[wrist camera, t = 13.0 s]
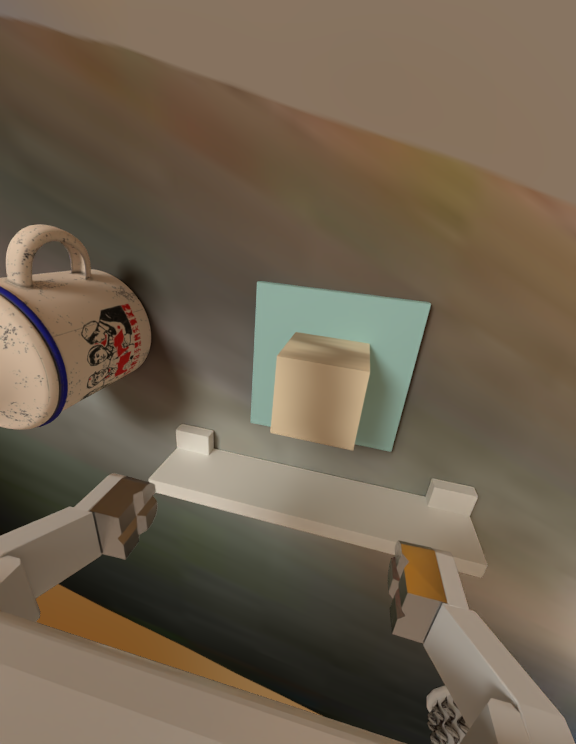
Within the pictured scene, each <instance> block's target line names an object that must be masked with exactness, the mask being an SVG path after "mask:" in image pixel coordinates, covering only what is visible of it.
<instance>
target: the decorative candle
mask: <svg viewBox="0 0 576 744" xmlns="http://www.w3.org/2000/svg"><path fill="white" fill-rule="evenodd" d="M427 709H428V711H429V712H430V713H429V714H428V719H429V721H428V726H429V728H430V729H431V730H432V731H433V732H432V733H431V735H430V738H431V743H430V744H459V743H460V742H461V741H462V739H463V738H464V736H465V735H466V733H467V732H468V730H469V727H468V725H467V724H466V722H465V720H464V718H463V716H462V715H461V713H460V711H459V709H458V707H457V706H456V704H455V702H454V700H453V698H452V697H451V695H450V693H449V691H448V689H447V687H446V686H445V685H444V686H441V687H438V688H435V689H433V690H432V691H431V692H430V693H429V694H428V695H427Z"/></svg>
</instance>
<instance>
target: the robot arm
mask: <svg viewBox="0 0 576 744" xmlns="http://www.w3.org/2000/svg"><path fill="white" fill-rule="evenodd" d="M155 492H156V489H155V484H153V483H150V482H147V481H143V480H139V479H135V478H132V477H128V476H123V475H119V474H116V473H113V474H110V475H108V476H107V477H106V478H105V479H104V480H103V481H102V482H101V483H100V484H99V485H97V486H96V487H95V488H94V489H93V490H92V491H91V492H90V493H89V494H88V495H87V496H86V497H85V498H84V499H82V500H81V501H80V502H79V503H78V504H77V505H76V506H75V507H68V508H65V509H63V510H61V511H58V512H56V513H54V514H51V515H49V516H46V517H44V518H42V519H39V520H37V521H35V522H32V523H30V524H27V525H25V526H23V527H20V528H18V529H15V530H13V531H11V532H8V533H6V534H4V535H1V536H0V744H406V743H402V742H399V741H396V740H393V739H390V738H387V737H384V736H381V735H378V734H375V733H372V732H369V731H366V730H363V729H360V728H357V727H354V726H351V725H348V724H345V723H342V722H339V721H336V720H332V719H329V718H326V717H323V716H320V715H317V714H314V713H311V712H308V711H305V710H302V709H299V708H296V707H293V706H290V705H287V704H284V703H281V702H278V701H274V700H272V699H268V698H265V697H262V696H259V695H256V694H253V693H250V692H247V691H244V690H241V689H238V688H235V687H232V686H229V685H226V684H223V683H220V682H217V681H214V680H211V679H208V678H205V677H202V676H198V675H195V674H192V673H189V672H186V671H183V670H180V669H177V668H174V667H171V666H168V665H165V664H162V663H159V662H156V661H153V660H150V659H147V658H144V657H141V656H137V655H135V654H131V653H128V652H126V651H122V650H119V649H116V648H113V647H110V646H107V645H104V644H101V643H98V642H95V641H91V640H89V639H86V638H83V637H80V636H77V635H74V634H71V633H68V632H65V631H61V630H58V629H55V628H52V627H49V626H46V625H43V624H40V623H37V622H36V621H37V620H38V619H39V618H40V610H39V607H38V604H37V602H36V598H37V597H39V596H40V595H42V594H43V593H45V592H46V591H48V590H49V589H51V588H52V587H54V586H56V585H57V584H59V583H60V582H62V581H63V580H65V579H66V578H68V577H69V576H71V575H72V574H74V573H75V572H77V571H78V570H80V569H81V568H83V567H84V566H86V565H87V564H89V563H91V562H92V561H94V560H95V559H97V558H98V557H100V556H101V554H105V555H109V556H113V557H117V558H121V559H127V557H128V556H129V554H130V553H131V552H132V550H133V549H134V548H135V546H136V545H137V544H138V542H139V534H141V533H143V532H145V531H146V530H148V528H149V527H150V526H151V524H152V523H153V520H154V518H155V516H156V513H157V501H156V499H155V498H154V497H153V495H154V493H155ZM394 549H395V557H393V558H391V561H390V565H389V570H388V593H389V594H390V596H391V597H392V599H393V601H392V604H391V607H390V616H391V627H392V634H394V635H397V636H401V637H404V638H407V639H410V640H413V641H417V642H420V643H423V644H424V645H423V646H424V648H425V650H426V651H427V653H428V655H429V657H430V659H431V660H432V662H433V664H434V666H435V668H436V669H437V671H438V673H439V675H440V677H441V678H442V680H443V682H444V684H445V686H446V687H447V689H448V691H449V693H450V695H451V697H452V698H453V700H454V702H455V704H456V706H457V707H458V709H459V711H460V713H461V715H462V716H463V718H464V720H465V722H466V724H467V725H468V727H469V730H468V732H467V733H466V735H465V736H464V738H463V739H462V741H461V742H460V743H459V744H575V742H574V739H573V737H572V735H571V732H570V730H569V728H568V725H567V723H566V721H565V719H564V717H563V716H562V715H561V713H560V712H559V711H558V710H557V709H556V707H555V706H554V705H553V704H552V703H551V701H550V700H549V699H548V698H547V697H546V695H545V694H544V693H543V692H542V691H541V689H540V688H539V687H538V686H537V685H536V683H535V682H534V681H533V680H532V679H531V677H530V676H529V675H528V674H527V673H526V671H525V670H524V669H523V668H522V667H521V665H520V664H519V663H518V662H517V661H516V659H515V658H514V657H513V656H512V655H511V654H510V652H509V651H508V650H507V649H506V648H505V646H504V645H503V644H502V643H501V642H500V640H499V639H498V638H497V637H496V636H495V634H494V633H493V632H492V631H491V630H490V628H489V627H488V626H487V625H486V624H485V622H484V621H483V620H482V619H481V618H480V616H479V615H478V614H477V613H476V612H475V611H472V610H470V609H469V606H468V603H467V599H466V596H465V593H464V590H463V586H462V583H461V580H460V576H459V573H458V570H457V567H456V563H455V560H454V557H453V555H452V554H451V552H447V551H443V550H439V549H434V548H431V547H426V546H422V545H417V544H413V543H408V542H404V541H399V540H398V541H397V543H396V545H395V548H394Z"/></svg>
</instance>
